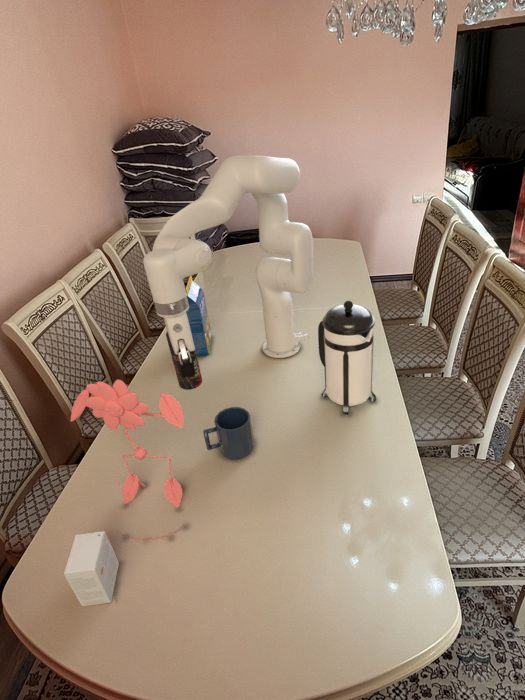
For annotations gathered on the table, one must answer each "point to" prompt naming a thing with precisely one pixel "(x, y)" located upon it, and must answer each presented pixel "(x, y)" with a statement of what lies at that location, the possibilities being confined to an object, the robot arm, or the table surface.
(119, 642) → the table surface
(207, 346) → the blue food package
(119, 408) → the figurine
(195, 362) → the deodorant
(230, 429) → the mug
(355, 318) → the coffee press
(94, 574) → the small box
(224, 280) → the table surface
